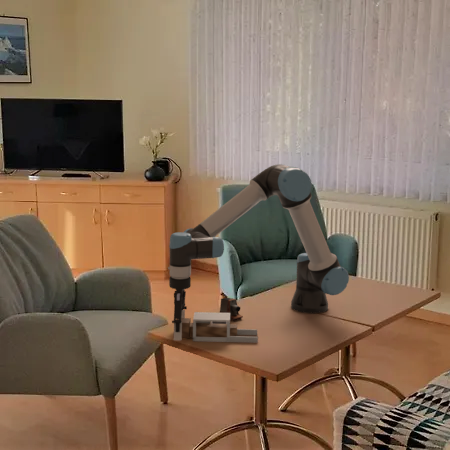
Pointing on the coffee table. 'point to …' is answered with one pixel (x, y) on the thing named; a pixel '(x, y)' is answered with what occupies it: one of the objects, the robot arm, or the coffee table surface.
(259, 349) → the coffee table surface
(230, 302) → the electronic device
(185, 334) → the block
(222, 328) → the rod
